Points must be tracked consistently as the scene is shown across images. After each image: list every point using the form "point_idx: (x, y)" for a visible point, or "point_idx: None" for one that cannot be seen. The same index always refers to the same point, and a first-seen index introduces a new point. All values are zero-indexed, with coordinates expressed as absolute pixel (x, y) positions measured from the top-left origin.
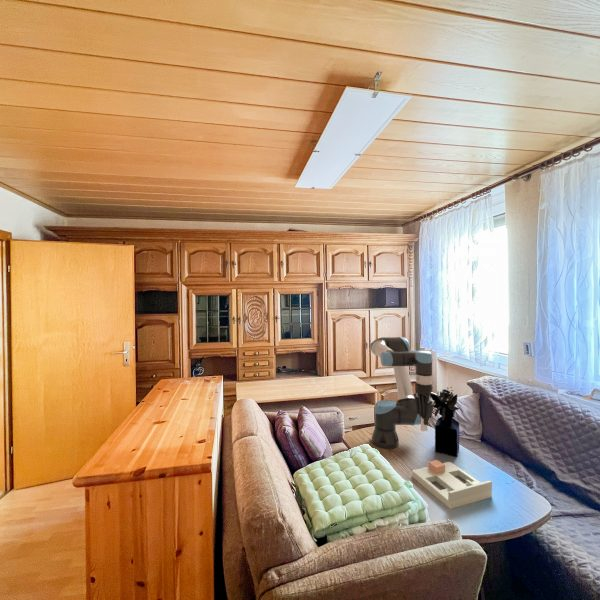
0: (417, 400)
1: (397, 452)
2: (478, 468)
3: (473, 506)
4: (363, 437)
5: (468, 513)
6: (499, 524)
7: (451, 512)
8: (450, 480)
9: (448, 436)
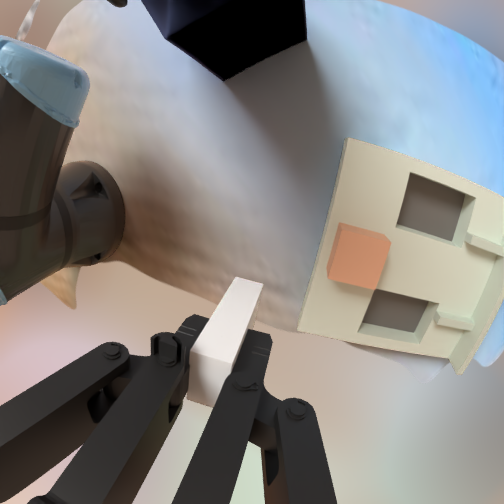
0: (14, 482)
1: (152, 229)
2: (405, 53)
3: None
4: None
5: None
6: None
7: None
8: (424, 271)
9: (259, 16)
